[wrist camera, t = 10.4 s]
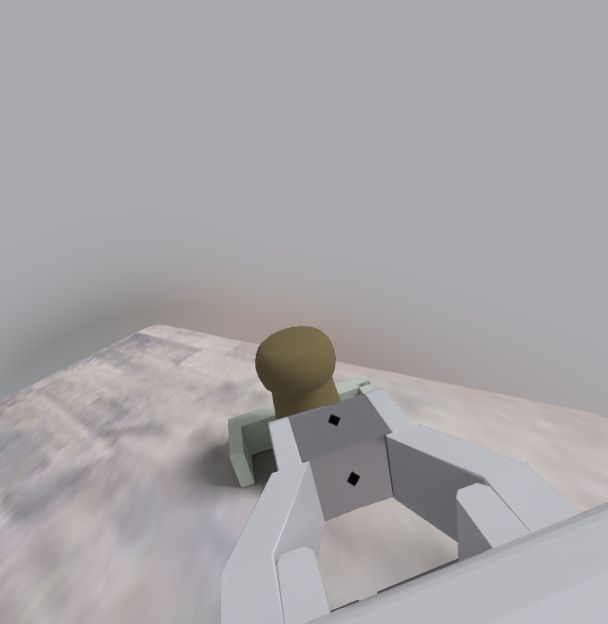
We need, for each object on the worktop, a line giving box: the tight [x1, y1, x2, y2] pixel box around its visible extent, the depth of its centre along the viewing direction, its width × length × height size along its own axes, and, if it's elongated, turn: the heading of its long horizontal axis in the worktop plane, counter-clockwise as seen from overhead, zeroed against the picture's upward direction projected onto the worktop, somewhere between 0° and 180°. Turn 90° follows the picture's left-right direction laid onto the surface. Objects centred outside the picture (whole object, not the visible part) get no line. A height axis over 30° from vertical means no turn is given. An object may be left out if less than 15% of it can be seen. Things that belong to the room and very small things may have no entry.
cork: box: [255, 326, 341, 420], centre depth 25 cm, size 6×6×11 cm
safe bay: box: [228, 375, 374, 488], centre depth 29 cm, size 12×4×3 cm, turn 103°
